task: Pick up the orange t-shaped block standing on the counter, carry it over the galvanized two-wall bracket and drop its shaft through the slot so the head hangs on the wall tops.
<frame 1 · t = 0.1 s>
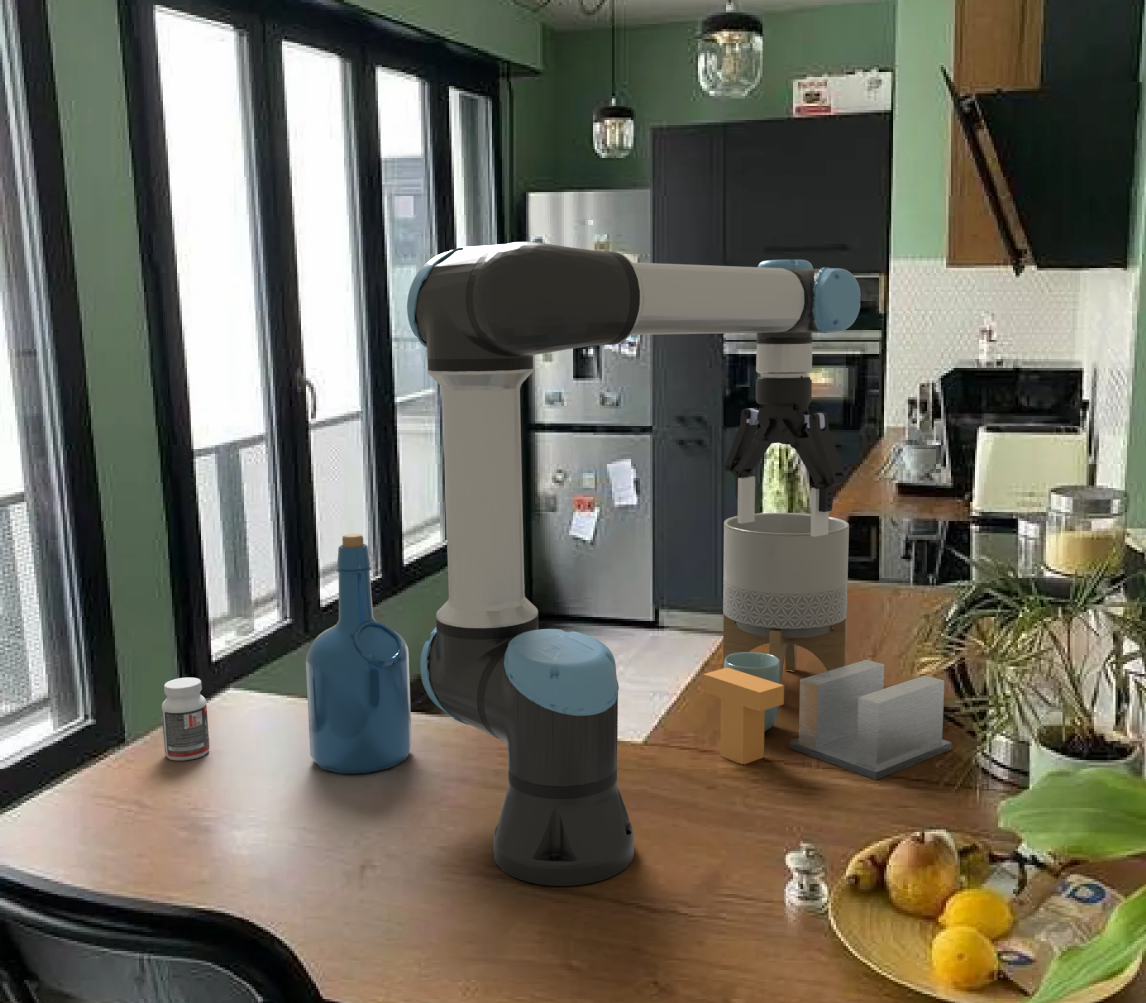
hand: (781, 528, 158), 28 cm above the worktop, fingers open, 13 cm apart
wine bottle: (363, 760, 150), on the worktop
bracket: (869, 748, 151), on the worktop
orange t-shaped block: (742, 756, 149), on the worktop
pill bottle: (187, 755, 152), on the worktop
cup: (751, 730, 159), on the worktop
planter: (783, 687, 178), on the worktop
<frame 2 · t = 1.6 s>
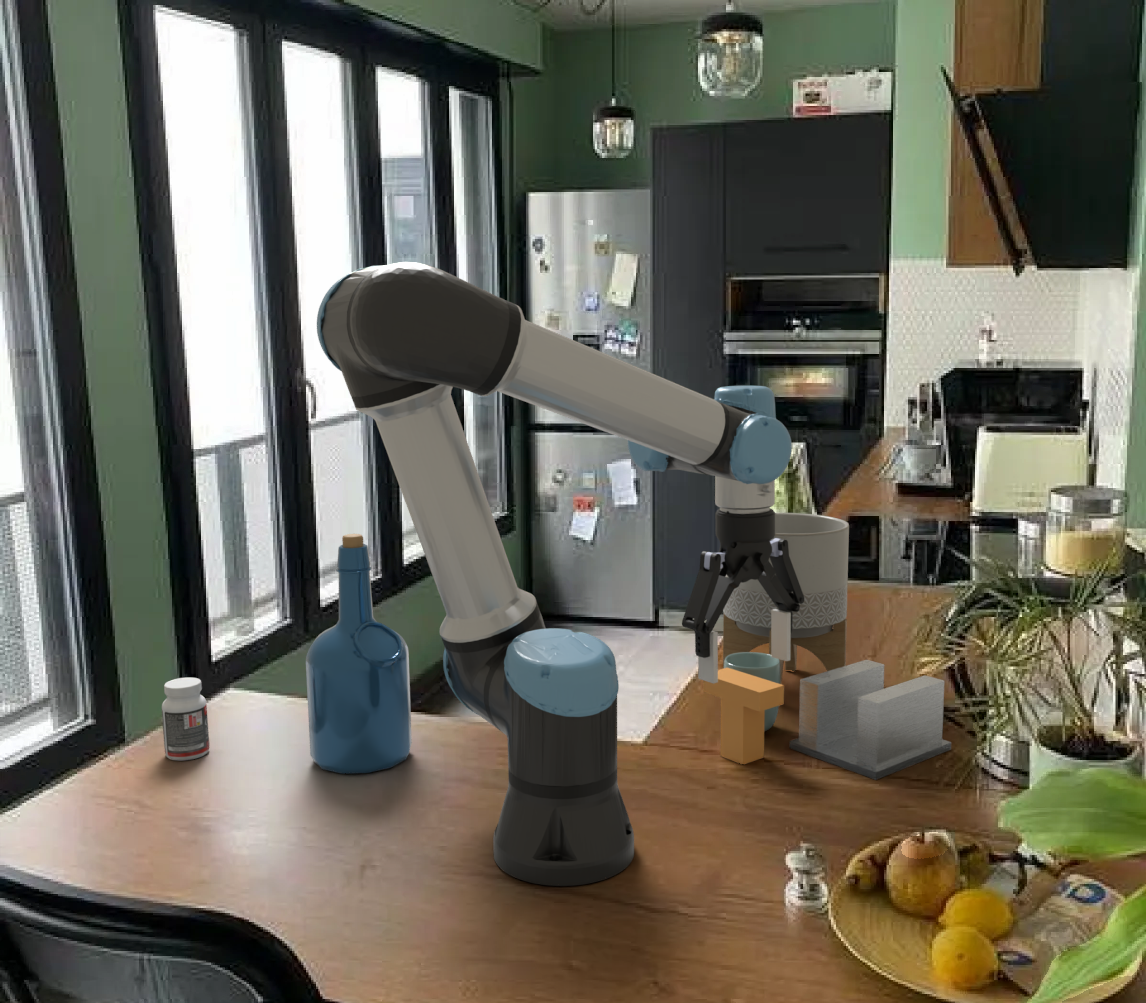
hand: (745, 669, 147), 12 cm above the worktop, fingers open, 13 cm apart
nothing on the worktop moved.
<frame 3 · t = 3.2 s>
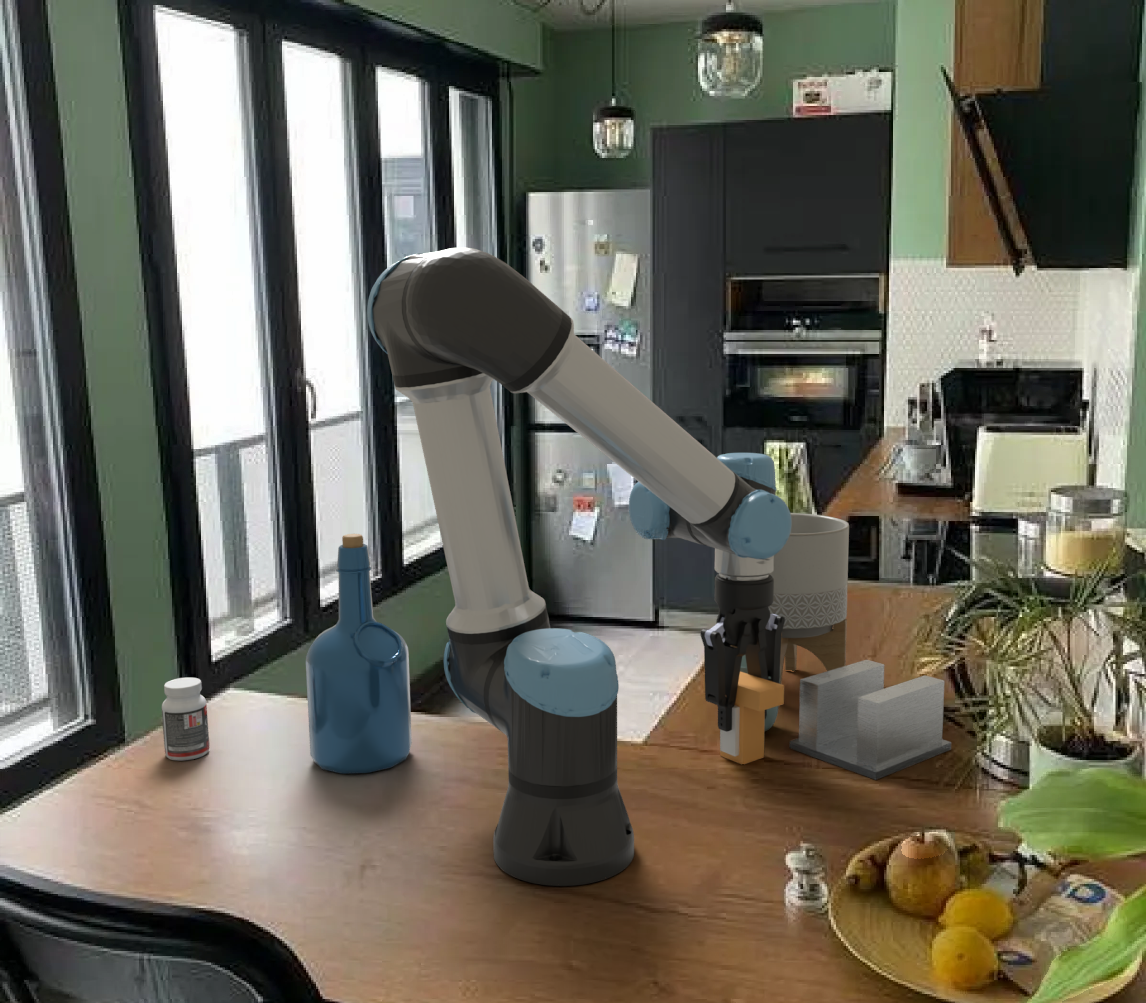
hand: (742, 748, 149), 1 cm above the worktop, fingers closed on orange t-shaped block, 4 cm apart
orange t-shaped block: (742, 756, 149), on the worktop, touching gripper
everything else where it was.
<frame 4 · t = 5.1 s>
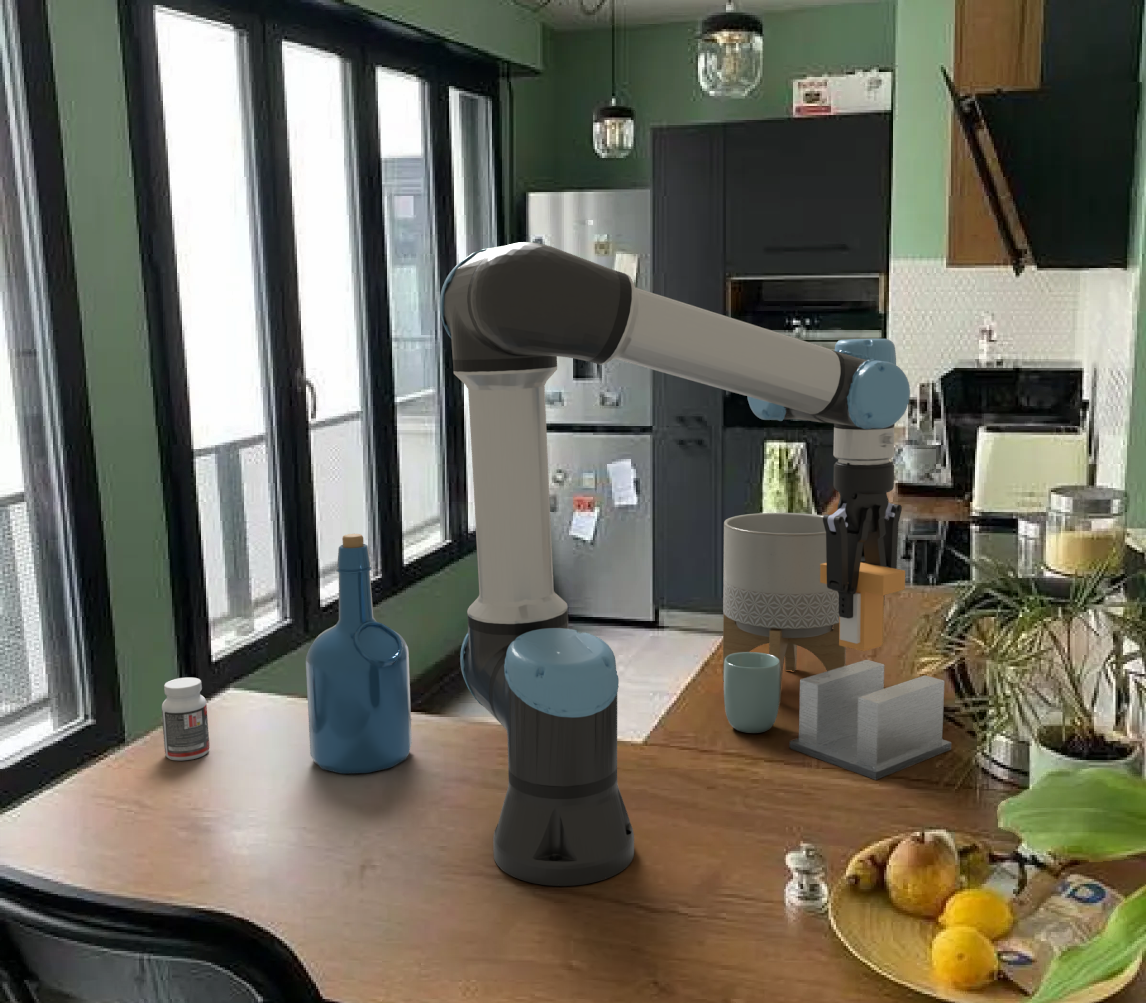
hand: (861, 637, 149), 15 cm above the worktop, fingers closed on orange t-shaped block, 4 cm apart
orange t-shaped block: (860, 645, 149), point 14 cm above the worktop, touching gripper
everything else where it was.
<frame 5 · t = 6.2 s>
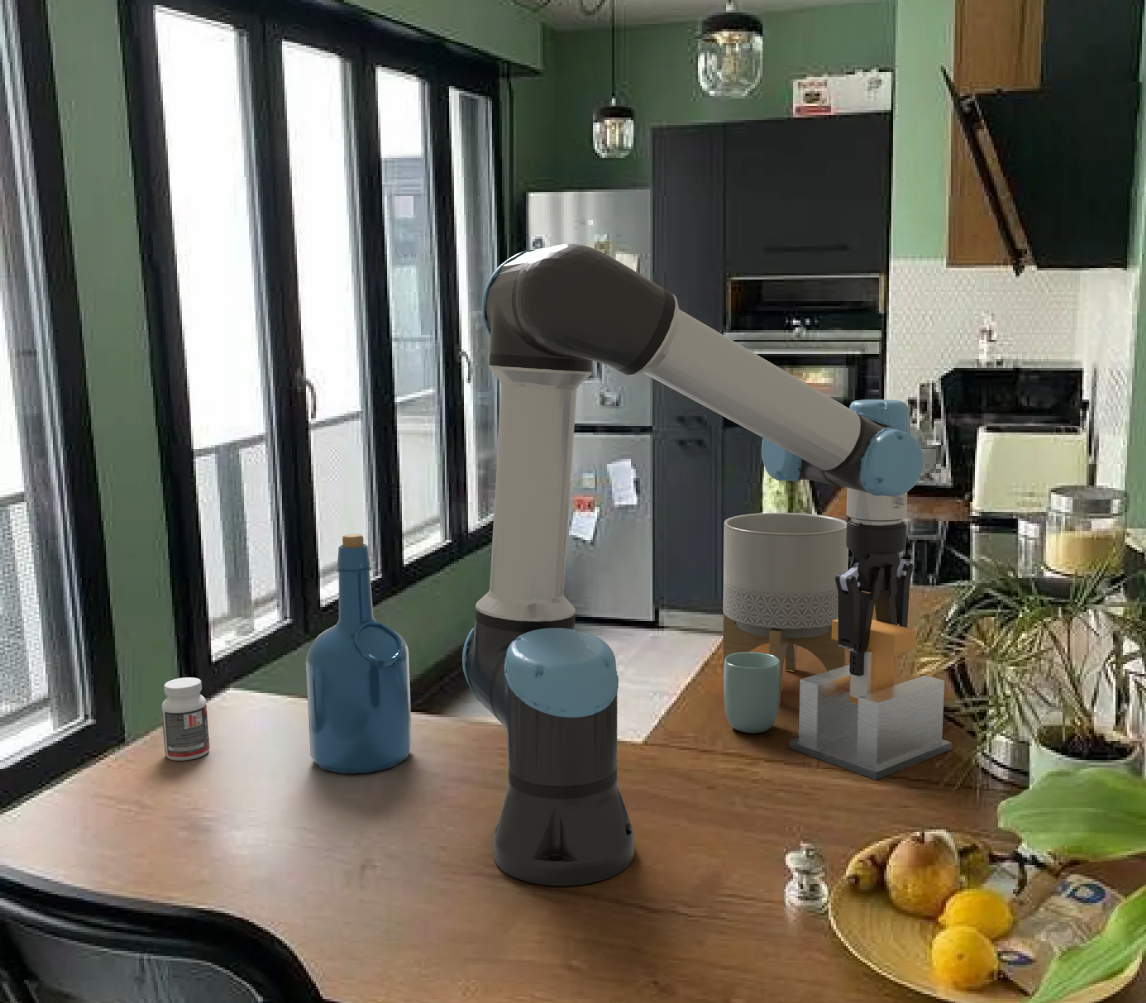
hand: (871, 693, 150), 8 cm above the worktop, fingers closed on orange t-shaped block, 4 cm apart
orange t-shaped block: (871, 702, 150), point 6 cm above the worktop, touching gripper
everything else where it was.
when the fingers open (4 cm above the worktop, at t = 7.2 s): orange t-shaped block drops 1 cm, resting on bracket.
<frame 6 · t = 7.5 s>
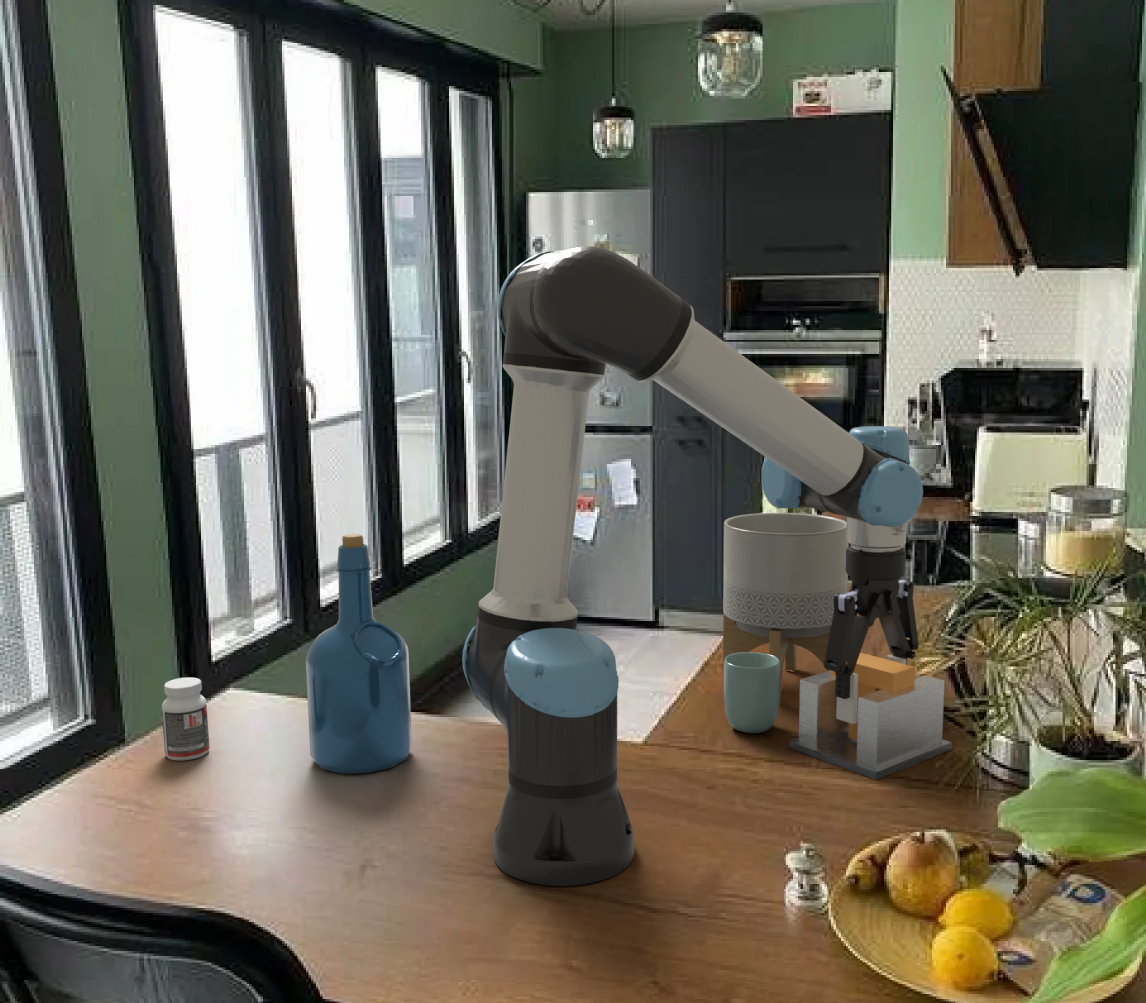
hand: (871, 712, 150), 5 cm above the worktop, fingers open, 9 cm apart
orange t-shaped block: (870, 738, 151), point 1 cm above the worktop, touching bracket
everything else where it was.
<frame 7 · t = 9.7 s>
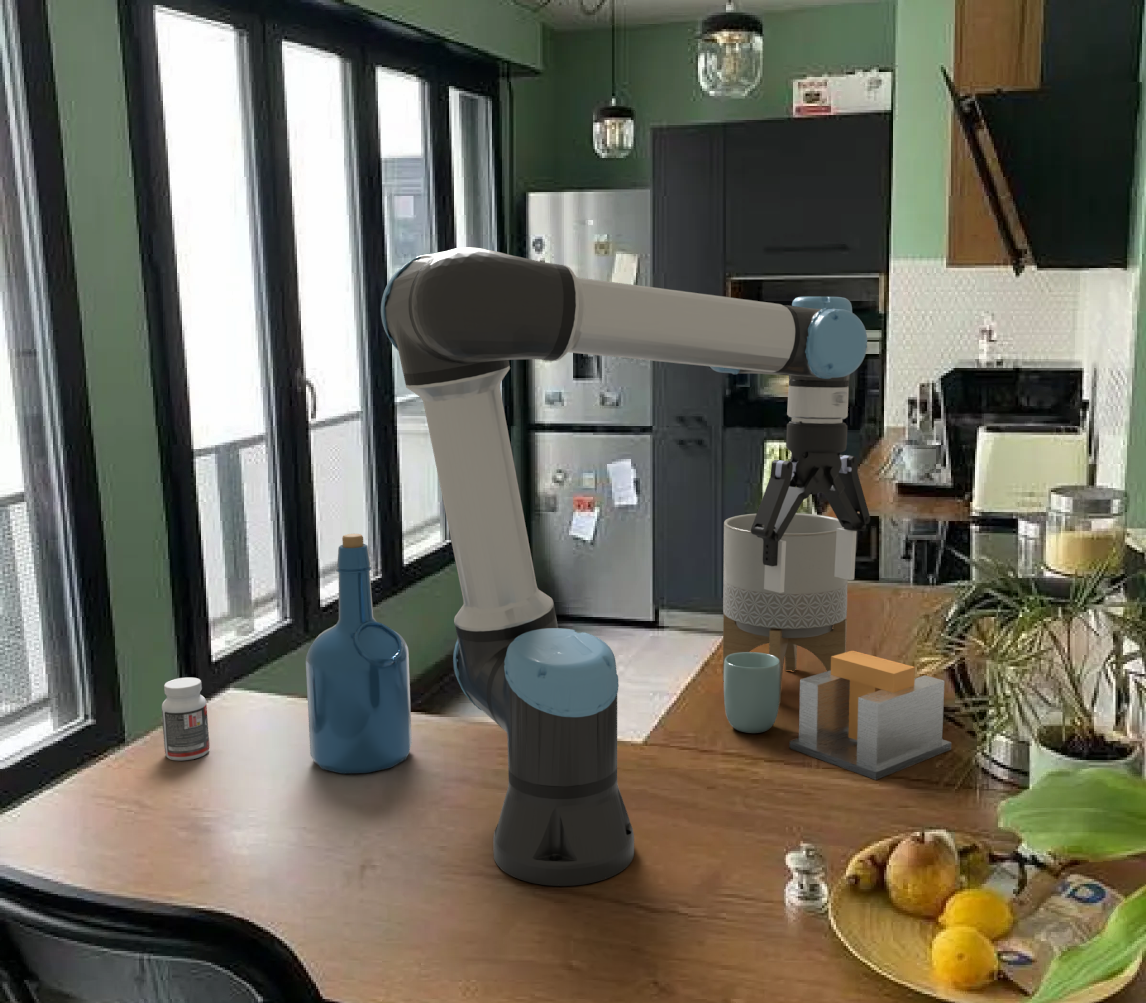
hand: (810, 584, 147), 23 cm above the worktop, fingers open, 13 cm apart
nothing on the worktop moved.
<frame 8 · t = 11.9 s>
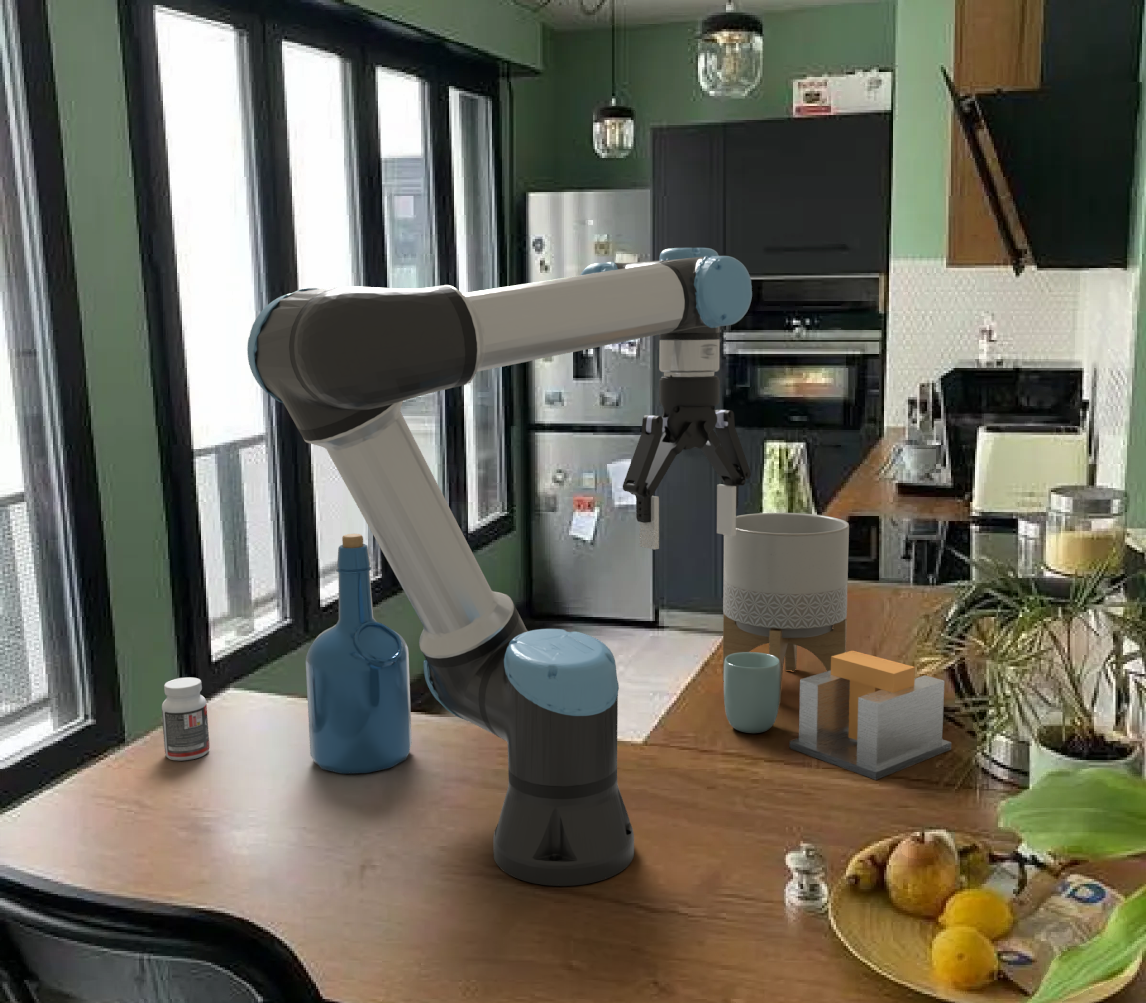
hand: (688, 541, 145), 29 cm above the worktop, fingers open, 13 cm apart
nothing on the worktop moved.
at the end: orange t-shaped block inside the target area on the bracket (0.0 cm from its centre), point 1.5 cm above the bracket's base; orange t-shaped block tilted 0°; the gripper is holding nothing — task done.
